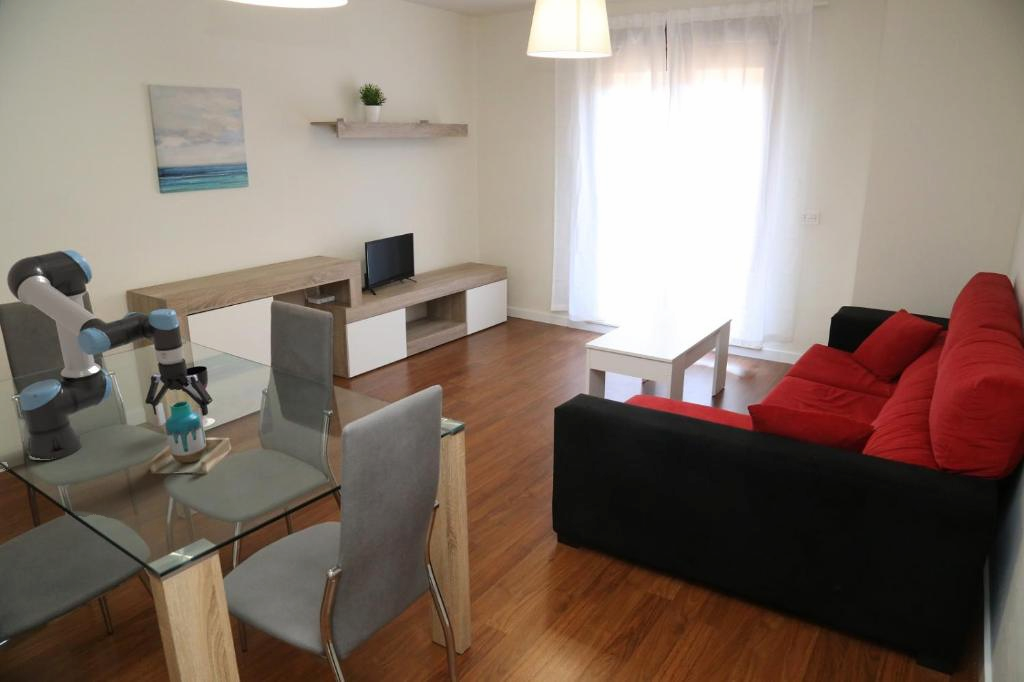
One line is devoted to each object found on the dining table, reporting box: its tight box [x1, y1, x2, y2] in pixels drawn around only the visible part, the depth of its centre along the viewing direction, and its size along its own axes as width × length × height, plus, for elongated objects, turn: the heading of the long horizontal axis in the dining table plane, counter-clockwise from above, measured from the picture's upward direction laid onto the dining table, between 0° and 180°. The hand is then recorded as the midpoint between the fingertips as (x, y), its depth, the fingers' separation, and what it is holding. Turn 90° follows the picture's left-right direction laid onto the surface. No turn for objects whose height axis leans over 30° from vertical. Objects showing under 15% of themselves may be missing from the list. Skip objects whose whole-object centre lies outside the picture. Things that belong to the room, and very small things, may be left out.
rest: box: [148, 437, 232, 475], centre depth 221 cm, size 18×16×4 cm
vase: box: [165, 400, 206, 463], centre depth 218 cm, size 11×11×19 cm
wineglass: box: [185, 365, 216, 428], centre depth 246 cm, size 8×9×20 cm
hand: (183, 424), depth 217 cm, fingers open, 13 cm apart
